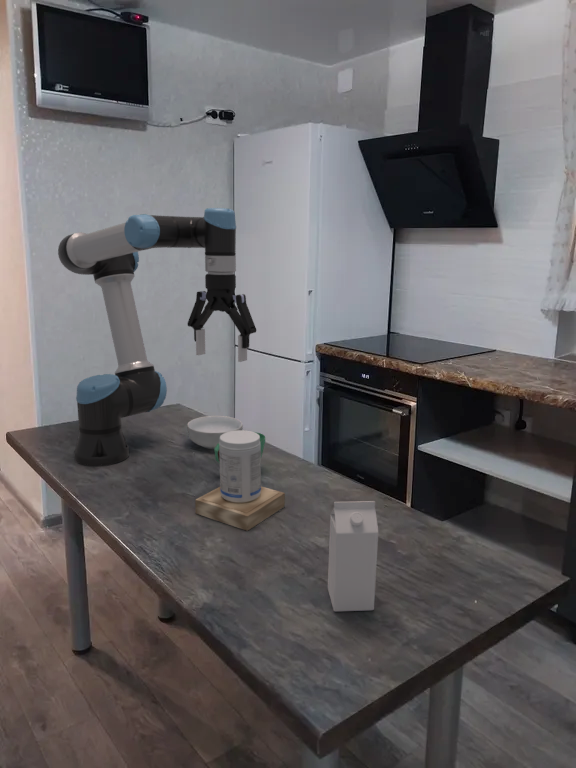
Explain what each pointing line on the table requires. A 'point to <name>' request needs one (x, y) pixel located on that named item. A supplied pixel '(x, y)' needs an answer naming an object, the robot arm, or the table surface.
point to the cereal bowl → (211, 429)
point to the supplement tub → (240, 466)
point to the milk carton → (352, 556)
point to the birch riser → (240, 508)
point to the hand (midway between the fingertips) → (221, 357)
